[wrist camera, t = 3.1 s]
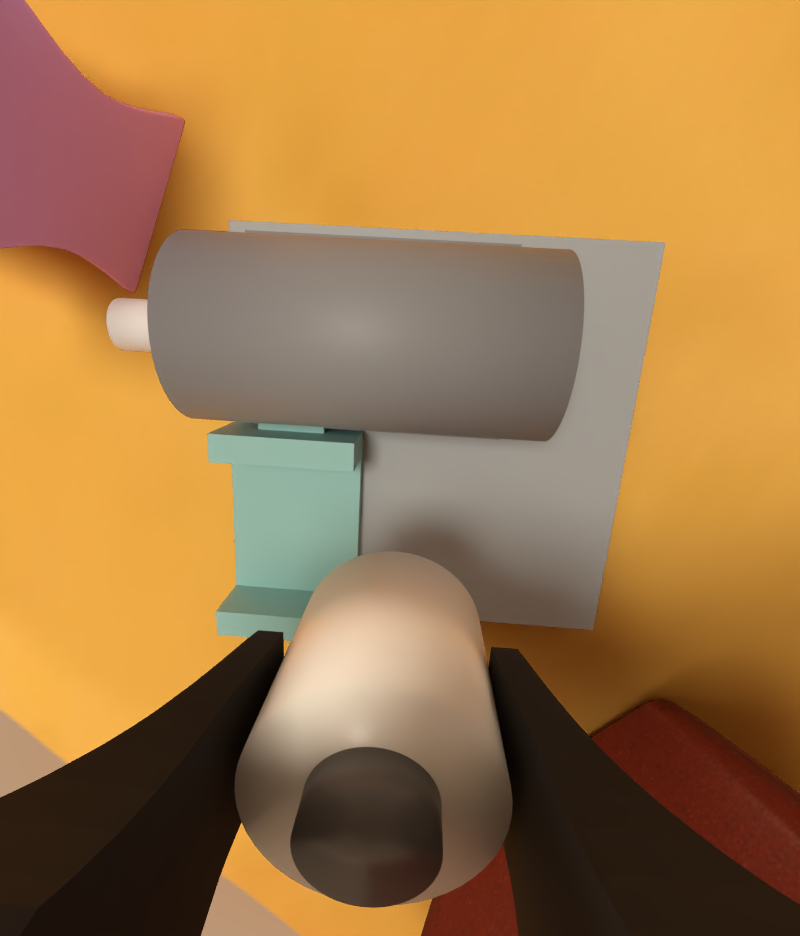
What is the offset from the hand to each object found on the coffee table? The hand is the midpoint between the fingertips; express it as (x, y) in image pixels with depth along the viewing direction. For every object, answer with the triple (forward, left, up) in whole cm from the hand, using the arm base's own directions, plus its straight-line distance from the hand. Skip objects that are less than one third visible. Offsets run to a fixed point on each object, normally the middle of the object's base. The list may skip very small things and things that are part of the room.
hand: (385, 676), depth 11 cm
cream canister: (0, 0, -2) cm, 2 cm away
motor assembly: (0, -4, -9) cm, 10 cm away
